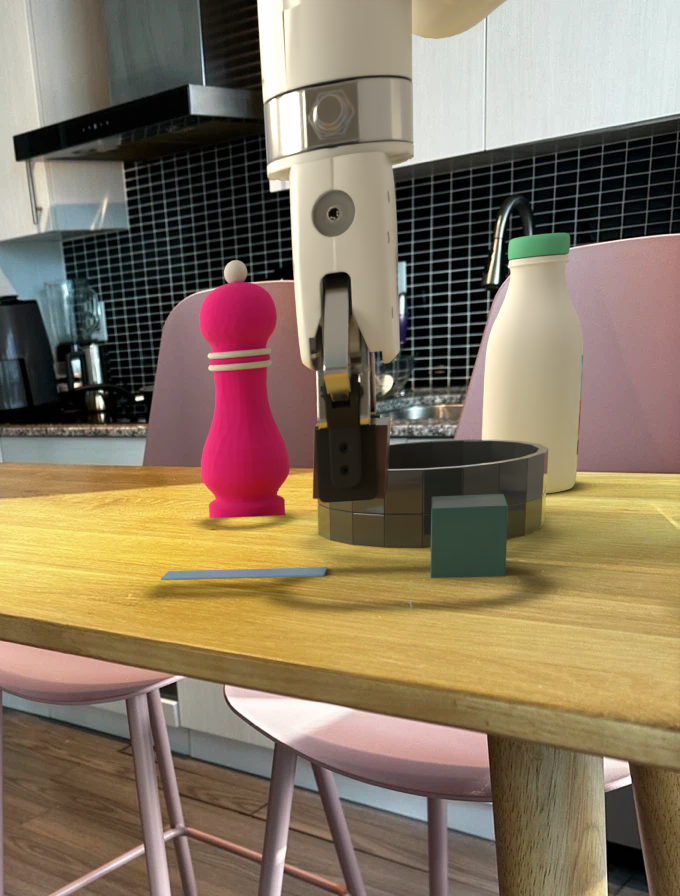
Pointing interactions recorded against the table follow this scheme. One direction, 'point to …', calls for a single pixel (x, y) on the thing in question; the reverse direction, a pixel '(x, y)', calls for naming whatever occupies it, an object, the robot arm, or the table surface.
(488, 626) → the table surface
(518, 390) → the milk bottle
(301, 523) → the table surface
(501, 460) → the dark round bowl
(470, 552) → the teal block
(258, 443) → the pepper mill
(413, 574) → the table surface
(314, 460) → the walnut block
